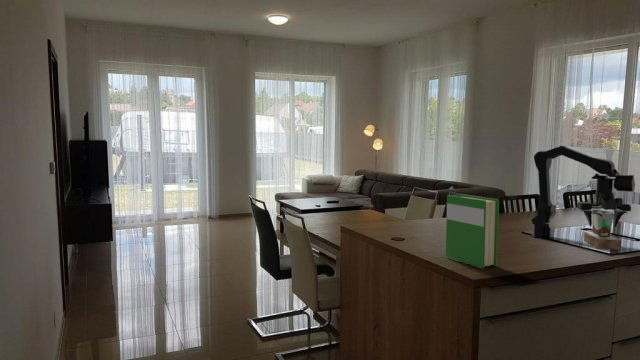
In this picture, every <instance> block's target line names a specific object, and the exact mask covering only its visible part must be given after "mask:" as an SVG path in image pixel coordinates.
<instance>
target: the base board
mask: <svg viewBox="0 0 640 360" xmlns="http://www.w3.org/2000/svg"><path fill="white" fill-rule="evenodd" d="M583 242H584V243H586V242H587V243H586V244H588V245H589V244H590V246H591V247H593V248H594V247H595V248H594V249H596V250H610V251H611V250H612V251H613V250H614V251H621V249H622V240H621V239H620V238H618V237H616V236H614V235H611V234H610V237H599V236H597V235H596V234H594V233H592V231H584V233H583Z"/></svg>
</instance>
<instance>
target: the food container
mask: <svg viewBox="0 0 640 360" xmlns="http://www.w3.org/2000/svg"><path fill="white" fill-rule="evenodd" d="M591 211H592V226H591V228H592V231H591V232H592V233H594V234H596V235H597V236H599V237H610V235H611V232H612V226H613V225H612V224H613V221H614V218H615V217H614V211H613V212H612V211H609V210H603V209H593V210H591Z"/></svg>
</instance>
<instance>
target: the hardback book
mask: <svg viewBox="0 0 640 360" xmlns="http://www.w3.org/2000/svg"><path fill="white" fill-rule="evenodd" d="M446 196H447V197H446V232H445V234H446V235H445V257H446V256H447V257H450V258H453V259H456V260H459V261H462V262H465V263H468V264H471V265H474V266H478V267H481V268H484V269H485V267H490V266H491V265H494V266H497V267H498V254H499V253H498V252H499V222H500V221H499V220H500V199H499V198H491V197H484V196H483V197H482V196H478V195H470V194H449V195H446ZM494 266H493V267H494Z"/></svg>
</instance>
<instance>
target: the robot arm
mask: <svg viewBox="0 0 640 360" xmlns="http://www.w3.org/2000/svg"><path fill="white" fill-rule="evenodd" d="M561 156H562V157H566V158H567V159H570V160H573V161H574V162H575V161H576V162H578V163H580V164H582V165H583V164H584V165H585V166H588V167H589V168H590V169H592V170H594V171H595V172H596V173H595V174H594V175H593V176H591V180H596V190H595V201H594V203H591V202H589V201H578V203H577V205H576V206H577V207H576V209H579V210H580V211H581V212H583V213H584V215H585V217H586V220H587V222H588V226H589V227H592V221H593V214H592V211H593V210H592V209H597V210H604V211H609V210H612V211H613V214H614V217H615V218H613V220H612V224H613V228H616V227H617V225H618V224H619V221H620V219H621V217H622V216H623V215H624V214H628V212H632V206H631V204H629V203H625V202H624V200H623V197H622V198H621V197H614V193H613V188H614V189H615V191H617V192H628V193H629V192H630V193H634V192H635V189H636V181H635V175H633V174H629V175H628V174H627V175H626V174H625V175H624V174H620V173H619V172H618V171H617V169H616V165H615V163H614V162H613V161H612V160H610V159H609V160H608V159H605V158H604V159H603V158H598V157H593V156H590V155H588V154H586V153H582V152H580V151H577V150H575V149H572V148H569V147H567V146H565V145H558V146H556V147H554V148H552V149H551V148H550V149H548V150H542V151H541V150H540V151H537V152H536V153H535V154H534V155H533V160H534V163H535V164H534V165H535V167H536V170H537V172H538V188H539V189H538V190H539V194H538V195H539V203H538V207H537V211H536V215H535V216H534V217H533V218H532V219H531V224H532V233H531V236H532V237H533V238H536V239H537V238H540V239H550V238H551V227H550V222H551V221H552V220H553V219H555V217H556V214H557V211H556V210H557V209H556V208H557V205H556V204H553V203H552V200H551V199H552V198H551V182H550V169H551V166H552V160H554V159H556V158H558V157H561Z"/></svg>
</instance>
